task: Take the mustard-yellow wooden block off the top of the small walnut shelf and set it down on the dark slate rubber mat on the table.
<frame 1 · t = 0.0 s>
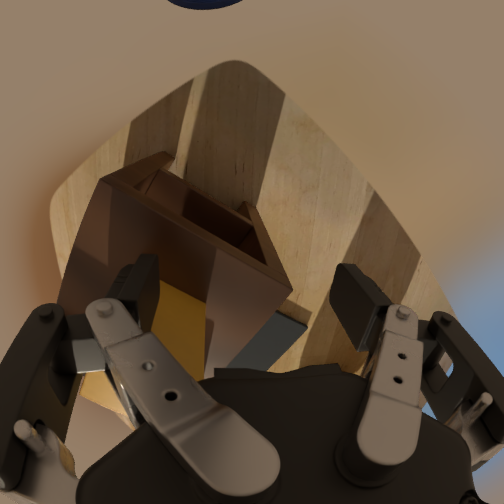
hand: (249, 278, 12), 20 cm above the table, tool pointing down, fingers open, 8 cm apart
yellow block: (154, 312, 15), point 17 cm above the table, touching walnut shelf
slate mat: (231, 349, 39), on the table
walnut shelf: (182, 223, 31), on the table
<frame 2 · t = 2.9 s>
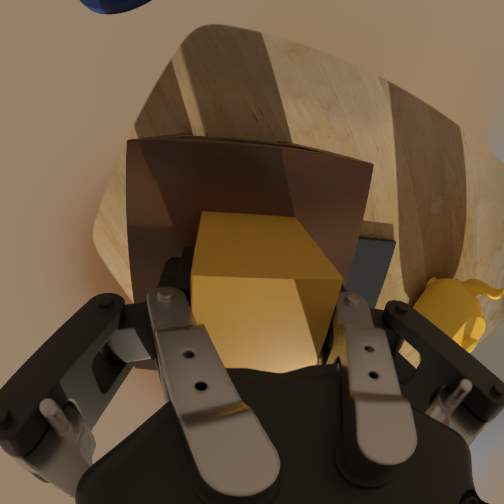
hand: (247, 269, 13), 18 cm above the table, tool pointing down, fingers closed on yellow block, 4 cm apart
yellow block: (245, 256, 14), point 17 cm above the table, touching gripper, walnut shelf
teapot: (432, 299, 41), on the table
slate mat: (334, 297, 37), on the table
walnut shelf: (230, 192, 30), on the table
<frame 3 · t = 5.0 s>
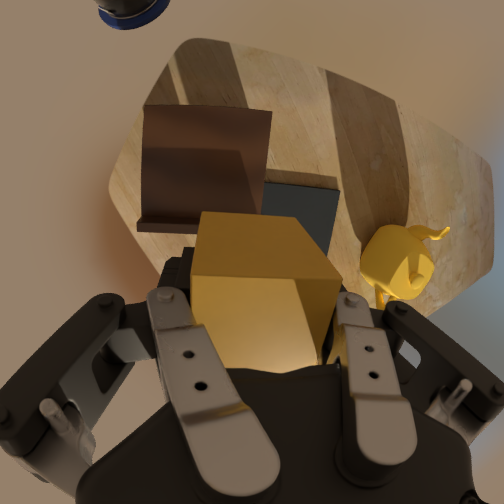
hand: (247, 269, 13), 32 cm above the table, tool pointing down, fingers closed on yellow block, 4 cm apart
yellow block: (245, 256, 14), point 31 cm above the table, touching gripper
teapot: (385, 247, 52), on the table
slate mat: (292, 236, 48), on the table
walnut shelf: (208, 152, 41), on the table
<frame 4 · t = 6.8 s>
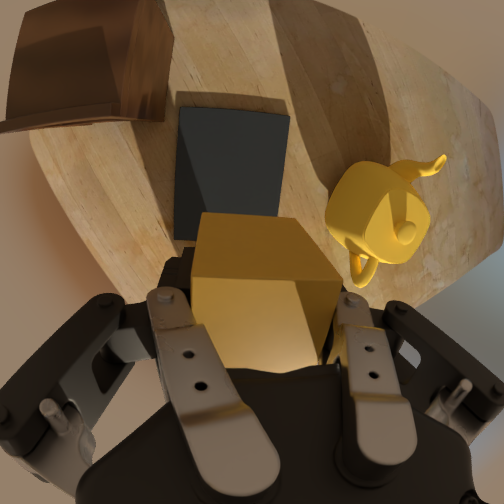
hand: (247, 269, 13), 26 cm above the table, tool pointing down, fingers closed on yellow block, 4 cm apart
yellow block: (245, 257, 14), point 24 cm above the table, touching gripper
teapot: (363, 198, 40), on the table
slate mat: (228, 177, 36), on the table
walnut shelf: (125, 80, 29), on the table
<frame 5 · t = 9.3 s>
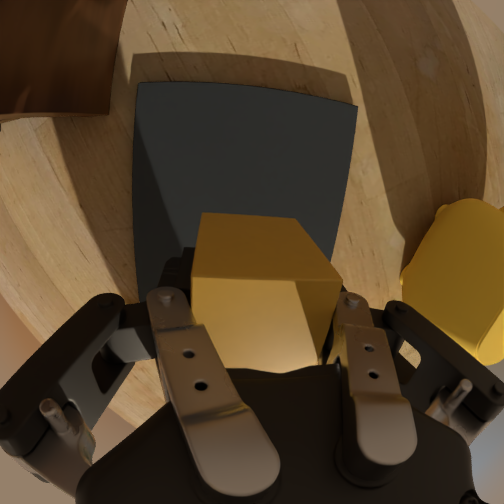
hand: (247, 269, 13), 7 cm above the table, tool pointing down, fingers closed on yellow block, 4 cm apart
yellow block: (245, 257, 14), point 5 cm above the table, touching gripper
teapot: (446, 250, 22), on the table
slate mat: (237, 222, 19), on the table
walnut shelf: (48, 47, 11), on the table
when the fingers open (2 cm above the table, at t = 10.9 s): yellow block stays where it is, resting on slate mat.
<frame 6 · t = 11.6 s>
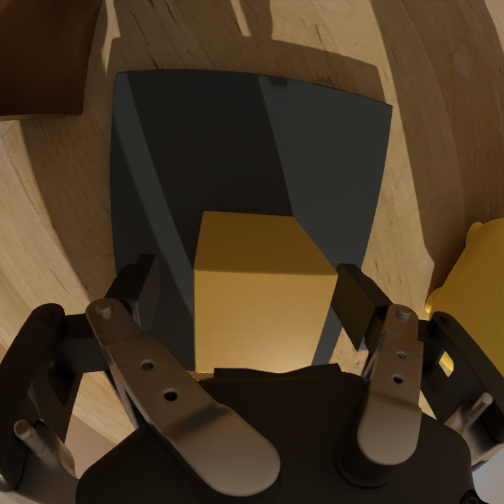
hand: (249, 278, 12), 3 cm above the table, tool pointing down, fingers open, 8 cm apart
yellow block: (245, 255, 15), point 1 cm above the table, touching slate mat
teapot: (473, 271, 19), on the table
slate mat: (243, 249, 15), on the table
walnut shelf: (18, 38, 8), on the table
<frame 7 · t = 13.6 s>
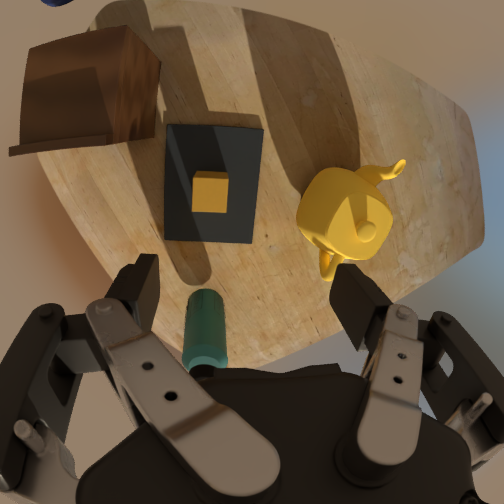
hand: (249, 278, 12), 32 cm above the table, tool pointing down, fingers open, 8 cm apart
yellow block: (211, 186, 41), point 1 cm above the table, touching slate mat
teapot: (334, 201, 45), on the table
beverage bottle: (206, 297, 50), on the table
slate mat: (210, 185, 41), on the table
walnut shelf: (119, 100, 34), on the table
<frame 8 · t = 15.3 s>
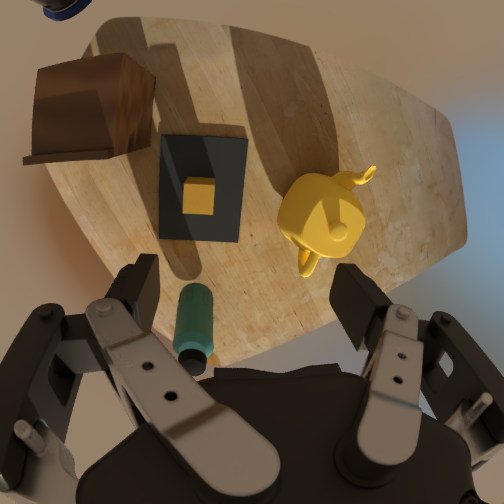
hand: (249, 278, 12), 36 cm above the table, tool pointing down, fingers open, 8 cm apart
yellow block: (200, 190, 45), point 1 cm above the table, touching slate mat
teapot: (314, 204, 49), on the table
beverage bottle: (197, 291, 54), on the table
slate mat: (200, 189, 46), on the table
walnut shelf: (118, 112, 39), on the table
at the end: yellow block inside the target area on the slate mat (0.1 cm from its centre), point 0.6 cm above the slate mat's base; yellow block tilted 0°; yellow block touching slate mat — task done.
